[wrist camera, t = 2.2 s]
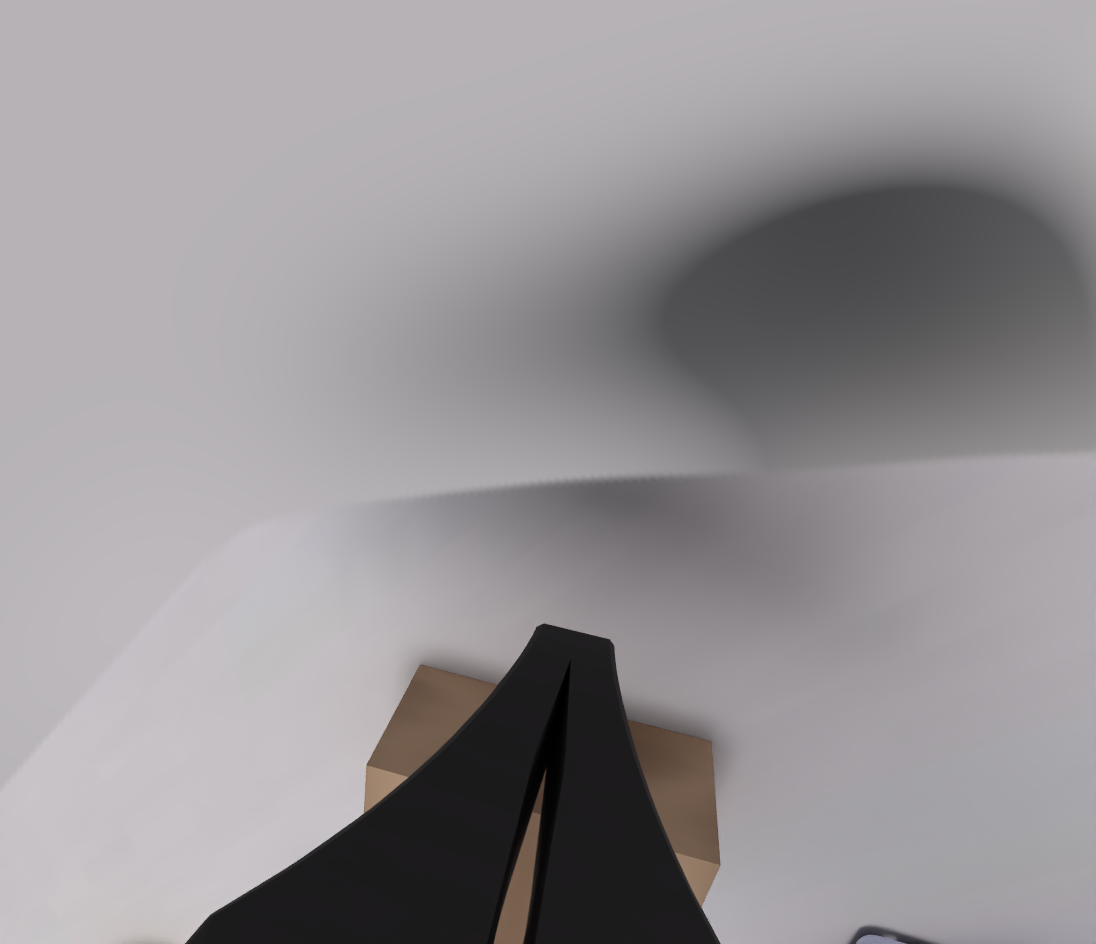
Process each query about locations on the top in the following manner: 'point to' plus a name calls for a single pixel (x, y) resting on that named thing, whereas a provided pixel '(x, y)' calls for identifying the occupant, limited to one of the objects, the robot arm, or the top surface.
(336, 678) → the top surface
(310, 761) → the top surface
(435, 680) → the block
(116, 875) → the top surface
